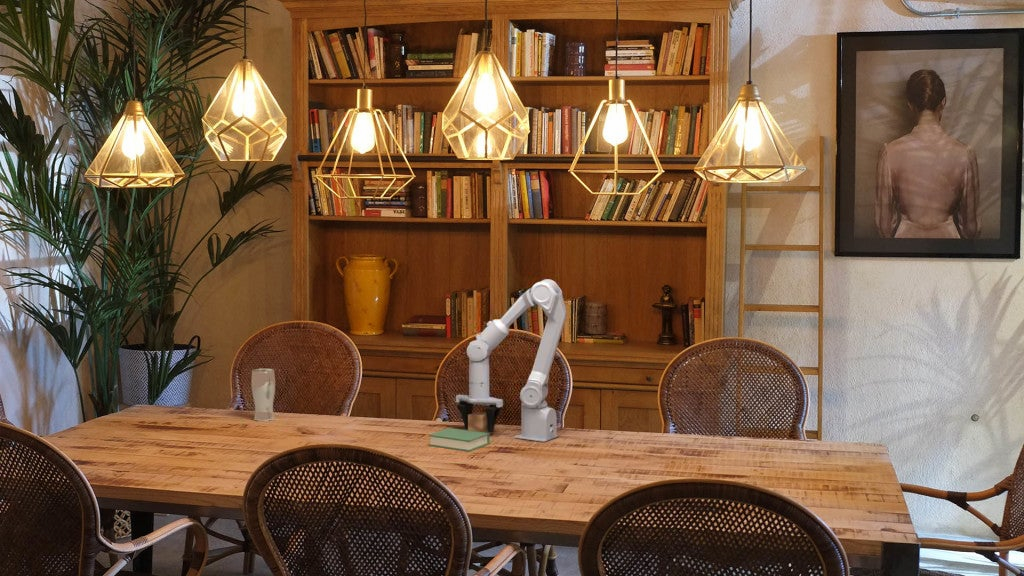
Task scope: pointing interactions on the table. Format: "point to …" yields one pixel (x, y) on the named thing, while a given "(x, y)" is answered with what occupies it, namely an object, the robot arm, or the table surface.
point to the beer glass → (263, 393)
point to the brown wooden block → (478, 422)
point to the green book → (459, 439)
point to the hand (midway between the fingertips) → (479, 429)
